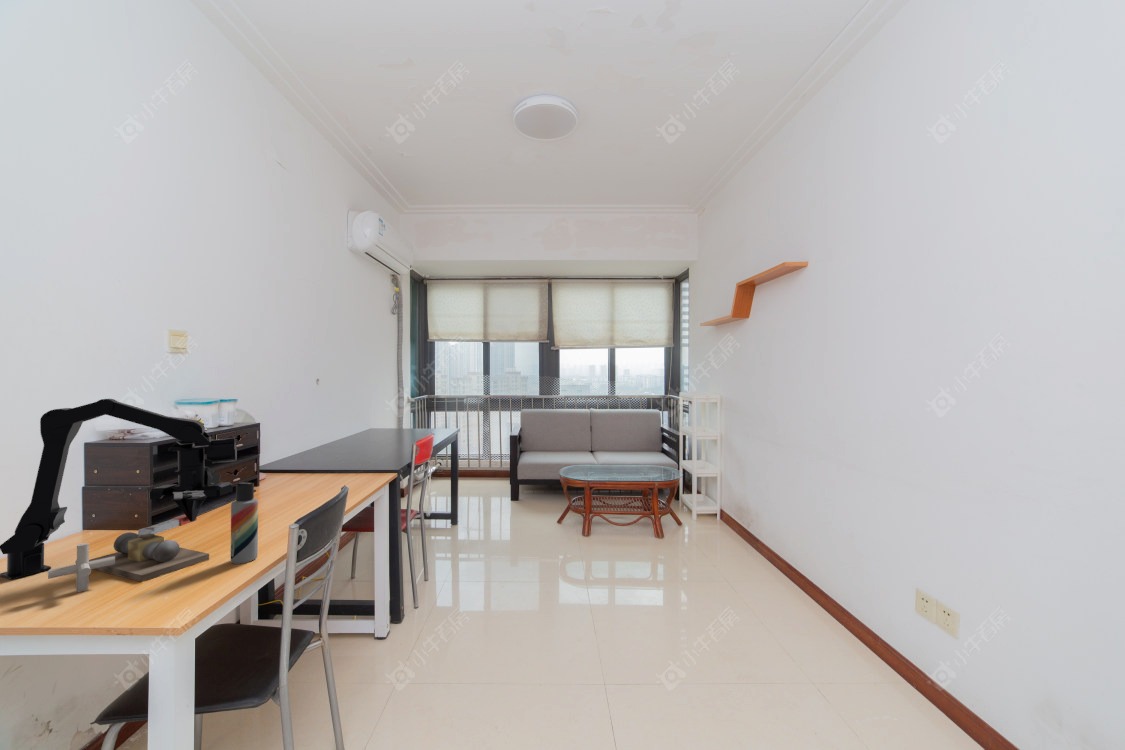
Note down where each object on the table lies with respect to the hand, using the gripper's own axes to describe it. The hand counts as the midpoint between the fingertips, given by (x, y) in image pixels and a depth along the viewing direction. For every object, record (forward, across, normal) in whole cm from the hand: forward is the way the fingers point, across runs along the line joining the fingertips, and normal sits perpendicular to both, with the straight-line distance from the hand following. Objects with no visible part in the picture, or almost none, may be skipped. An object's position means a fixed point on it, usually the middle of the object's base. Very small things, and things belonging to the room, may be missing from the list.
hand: (192, 521), depth 125 cm
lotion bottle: (+8, -21, +11) cm, 25 cm away
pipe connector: (+7, +4, +26) cm, 27 cm away
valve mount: (+7, +3, +11) cm, 13 cm away
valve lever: (0, +3, +5) cm, 6 cm away
